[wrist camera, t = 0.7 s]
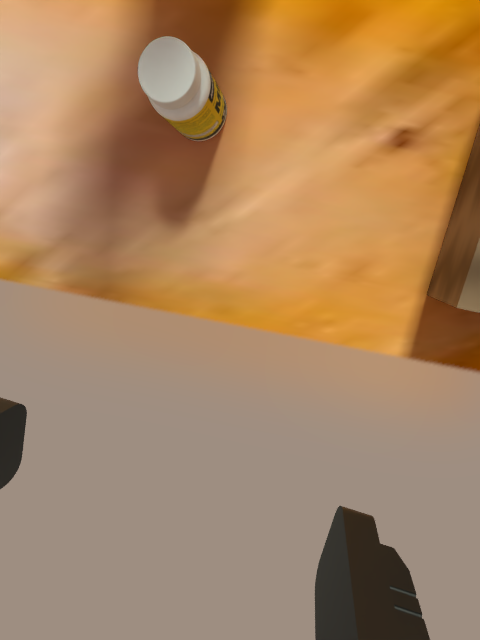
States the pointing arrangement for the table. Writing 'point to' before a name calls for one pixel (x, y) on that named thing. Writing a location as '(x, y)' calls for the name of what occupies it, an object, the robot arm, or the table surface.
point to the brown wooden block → (462, 244)
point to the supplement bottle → (182, 88)
